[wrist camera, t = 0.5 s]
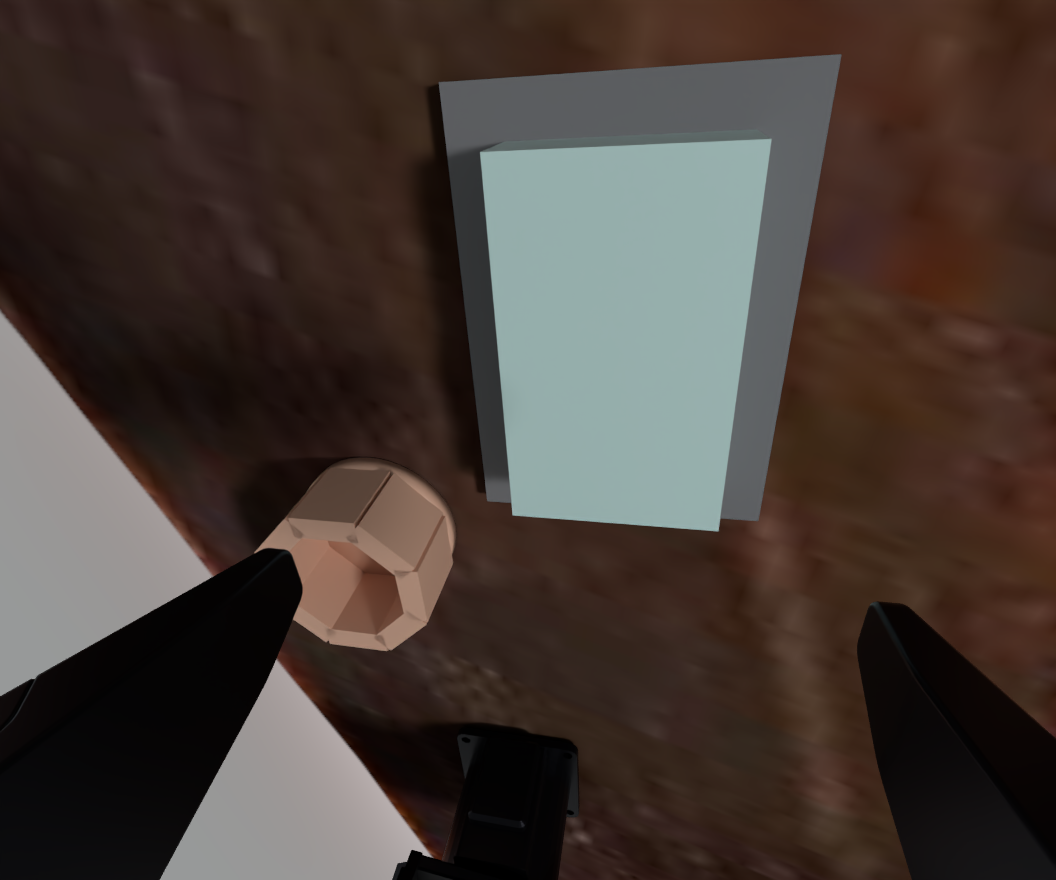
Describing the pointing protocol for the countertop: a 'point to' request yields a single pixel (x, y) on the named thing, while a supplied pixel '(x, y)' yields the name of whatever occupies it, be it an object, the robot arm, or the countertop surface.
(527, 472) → the pale teal block
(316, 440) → the countertop surface
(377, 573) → the nut
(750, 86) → the mat
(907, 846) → the robot arm
